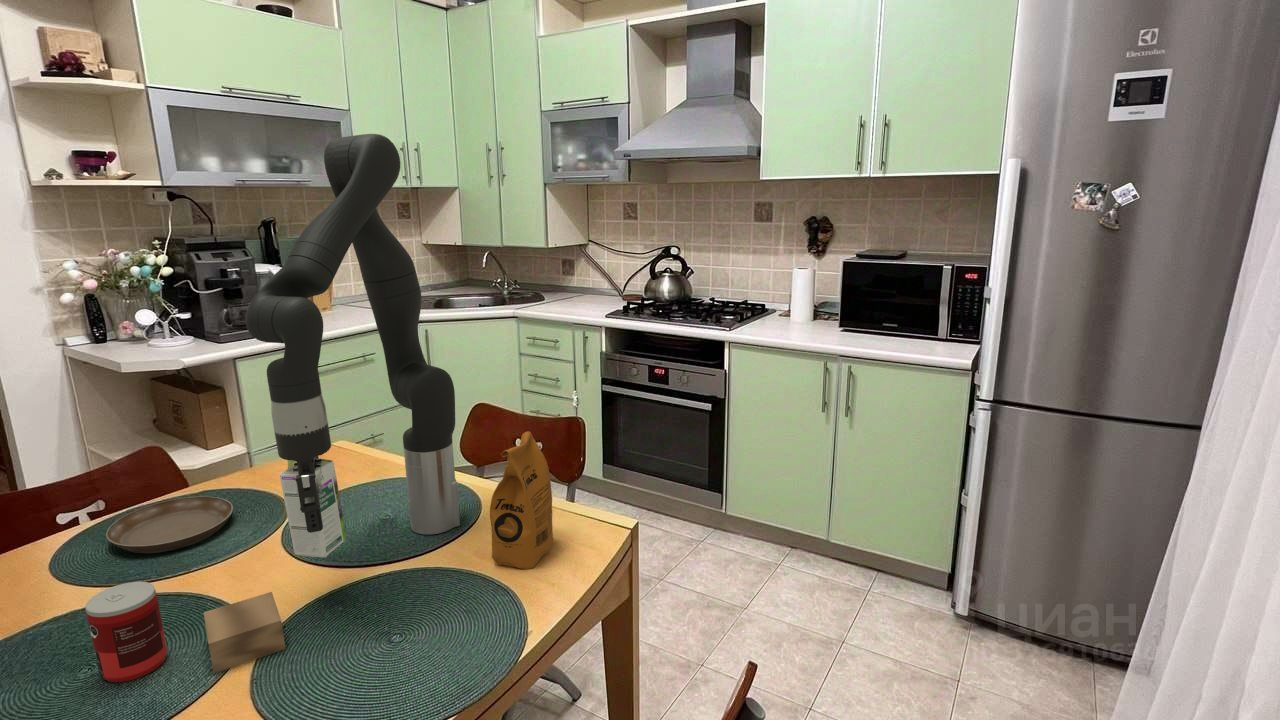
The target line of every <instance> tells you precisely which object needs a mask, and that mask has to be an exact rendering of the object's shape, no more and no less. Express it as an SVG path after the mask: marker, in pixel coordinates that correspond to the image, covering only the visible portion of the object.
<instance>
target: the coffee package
mask: <svg viewBox="0 0 1280 720" xmlns="http://www.w3.org/2000/svg"><path fill="white" fill-rule="evenodd" d="M500 456H501V458H506V461H507V463H508V464H507V465H506V466H505V469H504V473H503V475H502V476H503V477H502V479H501V480H500V481H499V482H498V483H497V486H496V488H495V489H494V491H493V493H492V496H491V500H490V506H489V518H490V519H489V520H490V521H489V523H490V529H491V558H492V560H493V561H494V563H495V564H496V565H498V566H502V565H504V566H508V567H511V568H512V567H513V568H516V569H519V570H522V569H525V570H529V569H530V570H531V569H533V568H535V567H536V565H537V564H538V563H539V561H540V559H541V558H542V557H544V556H546V555H547V554H549V552H550V550H551V546H552V544H553V542H554V533H553V528H554V527H553V492H552V484H551V476H550V469H549V464H548V461H547V459H546V458H545V455H544V452H542V450H541V449H540V447H539V444H538V443H537V441H536V439H534V437H533V435H532V433H531V431H529V430H528V431H525V432H523V433H522V435H521V438H520V442H519V445H517V446H513V447H510V448H509V449H505V450H503V452H502V453H501V454H500Z"/></svg>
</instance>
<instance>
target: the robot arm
mask: <svg viewBox="0 0 1280 720" xmlns="http://www.w3.org/2000/svg"><path fill="white" fill-rule="evenodd" d="M323 162H324V169H325V173H326V176H327V180H328V182H329V184H330V187H331V190H332V192H333V195H334V198H335V199H334V200H333V201H332V202H331V203H330V204H329V205H327V207H326V208H325V209H324V210H322V211H321V213H319V214H318V215H317V216H316V217H315V218H313V220H312V221H310V222H309V224H308V225H307V226H306V227H305V228H304V230H303V231H302V232H301V233H300V235H299V236H298V238H297V240H296V241H295V243H294V245H293V247H292V249H291V251H290V252H289V255H288V257H287V258H286V259H285V262H284V264H283V266H282V267H281V268H280V269H279V270H278V271H276V273H274V275H272V277H270V279H269V280H268V281H267V282H266V283H265V284H264V285H263V286H262V287H261V288H260V290H258V292H257V293H256V294H255V295H254V296H253V298H252V299H251V301H250V303H249V305H248V306H247V310H246V313H245V326H246V328H247V331H248V332H249V334H250V335H251V337H253V338H254V339H255V340H258V341H260V342H262V343H263V342H264V343H270V344H272V343H273V344H284V354H283V357H280V358H277V359H275V360H272V361H271V362H270V363H269V364H268V365H267V368H266V377H267V378H266V379H267V385H268V386H267V387H268V391H269V396H270V402H271V408H270V409H271V412H270V413H271V420H272V425H273V431H274V438H275V443H276V449H277V455H278V457H279V458H281V459H282V460H285V461H287V460H293V461H296V463H294V467H296V466H298V468H294V469H293V472H295V471H298V474H299V475H297V476H296V477H295V476H294V478H295V481H296V486H297V494H298V496H299V500H300V506H301V507H300V511H301V512H302V513H304V514H305V520H306V526H307V531H308V532H309V533H312V532H317V531H321V530H322V529H323V523H322V516H321V510H320V506H321V503H320V498H319V495H320V494H321V493H322V484H321V477H320V475H321V474H322V470H321V464H319V465H316V464H315V463H316V462H321V460H322V459H323V458H322V457H319V456H322V455H324V454H326V453H327V452H329V451H330V449H331V448H332V441H331V440H332V439H331V435H330V428H329V427H330V426H329V422H328V421H329V420H328V414H327V408H326V403H325V400H324V397H323V393H322V386H321V381H320V380H321V379H320V374H319V364H320V363H319V362H320V358H321V350H322V342H323V335H324V320H323V319H324V318H323V316H322V312H321V310H320V309H319V307H318V306H317V304H316V303H315V302H313V300H311V299H309V298H312V297H316V296H319V295H322V294H324V293H326V292H327V290H328V289H329V288H330V286H331V284H332V282H334V281H333V280H335V276H336V274H337V272H338V271H339V268H340V266H341V264H342V262H343V260H344V259H345V256H346V254H347V253H348V251H349V249H350V247H351V245H352V246H353V249H354V252H355V255H356V258H357V262H358V265H359V269H360V273H361V278H362V281H363V285H364V289H365V292H366V296H367V298H368V302H369V304H370V307H371V311H372V314H373V318H374V322H375V325H376V328H377V331H378V332H377V333H378V335H379V337H380V341H381V345H382V350H383V354H384V359H385V366H386V371H387V376H388V383H389V387H390V392H391V394H392V397H393V399H394V400H395V401H396V403H397V404H398V405H400V406H402V407H403V408H406V409H408V410H411V427H409V428H407V429H406V430H405V431H404V432H403V435H402V443H403V445H402V446H403V455H404V467H405V478H406V487H407V488H406V489H407V490H406V491H407V500H408V511H409V522H410V523H409V524H410V528H411V531H413V532H414V533H416V534H418V535H437V534H442V533H445V532H448V531H450V530H452V529H454V528H456V527H460V526H461V521H460V506H459V493H458V492H459V491H458V490H459V489H458V483H457V482H458V481H457V480H456V473H455V472H456V471H455V459H454V458H455V457H454V444H453V434H454V431H455V428H456V394H455V393H456V392H455V387H454V382H453V379H452V377H451V375H450V373H448V371H446V370H445V369H443V368H441V367H438V366H435V365H434V366H433V365H430V364H428V363H427V361H426V359H425V355H424V354H423V350H422V349H423V348H422V346H421V343H420V339H419V330H418V329H419V327H418V326H419V323H420V322H419V321H420V316H421V311H422V309H421V308H422V300H423V299H422V291H421V287H420V282H419V278H418V275H417V271H416V267H415V264H414V260H413V259H412V257H411V256H410V254H409V253H408V251H407V250H406V248H405V247H404V246H403V244H402V243H401V242H400V241H399V239H398V238H397V237H396V236H395V235H394V234H393V233H392V231H391V230H390V229H389V228H388V226H387V225H386V224H385V222H384V221H383V219H382V218H381V216H380V213H379V212H378V209H377V208H378V207H379V205H380V204H381V202H382V201H383V200H384V198H385V197H386V196H387V195H388V193H389V192H390V191H391V189H392V188H393V186H394V185H395V184H396V182H397V180H398V178H399V175H400V171H401V158H400V154H399V151H398V149H397V147H396V146H395V144H394V143H393V142H392V141H391V140H390V139H389V138H388V137H386V136H385V135H382V134H377V133H366V134H365V133H363V134H356V135H350V136H348V135H347V136H341V137H336V138H334V139H331V140H330V141H329V142H328V143H327V144H326V146H325V149H324V154H323ZM315 469H320V472H319V476H318V480H317V485H318V486H317V487H316V480H315V478H316V475H315ZM307 497H314V501H315V502H310V503H306V499H305V498H307Z"/></svg>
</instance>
